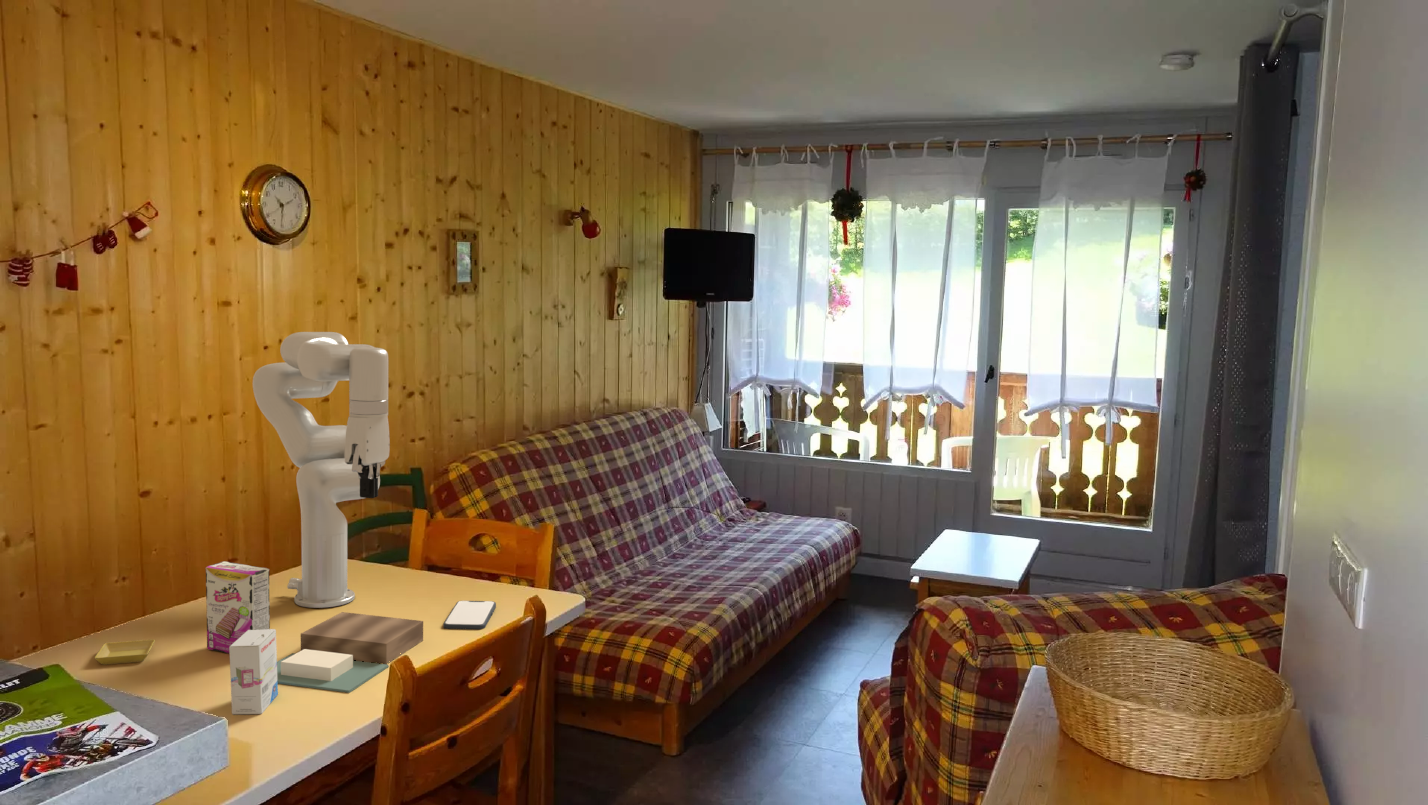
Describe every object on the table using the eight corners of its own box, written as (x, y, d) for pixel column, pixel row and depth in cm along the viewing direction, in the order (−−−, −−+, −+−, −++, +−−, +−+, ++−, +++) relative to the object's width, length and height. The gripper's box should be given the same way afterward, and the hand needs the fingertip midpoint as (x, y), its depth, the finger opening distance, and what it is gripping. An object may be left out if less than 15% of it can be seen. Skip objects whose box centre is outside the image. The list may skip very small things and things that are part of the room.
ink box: (248, 694, 177) (247, 627, 175) (278, 694, 177) (278, 627, 176) (229, 714, 168) (228, 644, 167) (261, 714, 169) (260, 644, 167)
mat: (248, 679, 183) (248, 677, 183) (292, 655, 196) (292, 653, 196) (349, 692, 179) (349, 690, 179) (388, 666, 191) (388, 664, 191)
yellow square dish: (104, 653, 194) (104, 642, 194) (156, 649, 197) (155, 638, 197) (94, 669, 186) (93, 658, 186) (148, 664, 189) (147, 653, 189)
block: (300, 653, 196) (300, 633, 196) (342, 631, 210) (342, 611, 210) (386, 664, 193) (386, 643, 192) (423, 640, 206) (423, 621, 206)
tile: (304, 648, 191) (304, 661, 191) (280, 661, 184) (280, 674, 185) (352, 654, 189) (352, 667, 189) (330, 668, 182) (330, 681, 183)
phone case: (484, 632, 214) (497, 607, 230) (484, 625, 214) (497, 600, 230) (441, 631, 214) (457, 606, 230) (441, 624, 214) (457, 599, 229)
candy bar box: (205, 650, 196) (203, 566, 195) (225, 642, 201) (224, 560, 199) (252, 659, 193) (251, 573, 191) (271, 650, 197) (270, 567, 196)
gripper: (371, 403, 217) (371, 489, 219) (331, 411, 203) (331, 502, 205) (404, 405, 216) (404, 491, 218) (365, 413, 201) (365, 505, 203)
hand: (368, 496), depth 211 cm, fingers closed
